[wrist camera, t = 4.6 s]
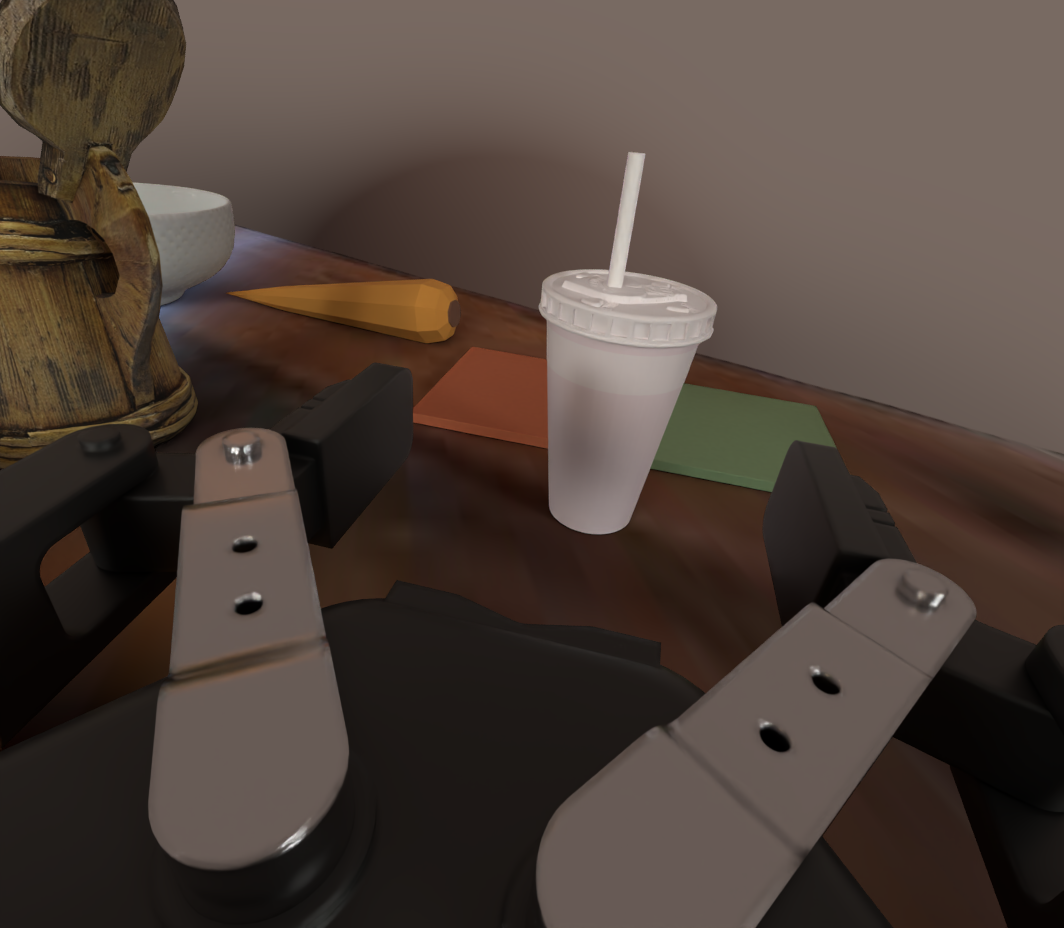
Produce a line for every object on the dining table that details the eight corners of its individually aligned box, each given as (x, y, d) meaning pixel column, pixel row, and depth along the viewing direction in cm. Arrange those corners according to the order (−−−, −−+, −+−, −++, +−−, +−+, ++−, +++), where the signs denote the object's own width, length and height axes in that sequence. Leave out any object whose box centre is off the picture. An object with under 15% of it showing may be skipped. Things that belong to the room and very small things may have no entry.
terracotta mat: (627, 381, 39) (629, 373, 38) (611, 461, 29) (613, 451, 29) (471, 354, 40) (471, 346, 40) (409, 422, 31) (408, 412, 31)
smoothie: (520, 464, 28) (552, 139, 21) (648, 475, 29) (724, 158, 21) (516, 549, 23) (557, 149, 16) (675, 561, 23) (789, 174, 16)
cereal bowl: (223, 264, 54) (208, 180, 50) (269, 318, 42) (254, 215, 39) (-17, 274, 45) (-57, 173, 41) (-39, 346, 34) (-96, 216, 30)
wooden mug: (141, 532, 22) (-77, -134, 12) (-84, 438, 25) (-382, -127, 16) (306, 435, 29) (249, -32, 19) (112, 372, 33) (-15, -43, 23)
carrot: (464, 349, 43) (471, 286, 42) (438, 343, 39) (444, 273, 38) (245, 325, 48) (247, 269, 48) (200, 317, 44) (202, 256, 43)
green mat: (813, 414, 37) (816, 405, 37) (857, 509, 28) (862, 499, 27) (642, 384, 39) (644, 376, 38) (630, 465, 29) (633, 455, 29)
